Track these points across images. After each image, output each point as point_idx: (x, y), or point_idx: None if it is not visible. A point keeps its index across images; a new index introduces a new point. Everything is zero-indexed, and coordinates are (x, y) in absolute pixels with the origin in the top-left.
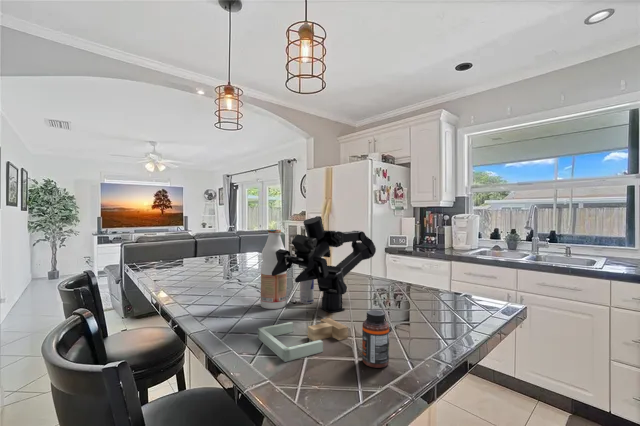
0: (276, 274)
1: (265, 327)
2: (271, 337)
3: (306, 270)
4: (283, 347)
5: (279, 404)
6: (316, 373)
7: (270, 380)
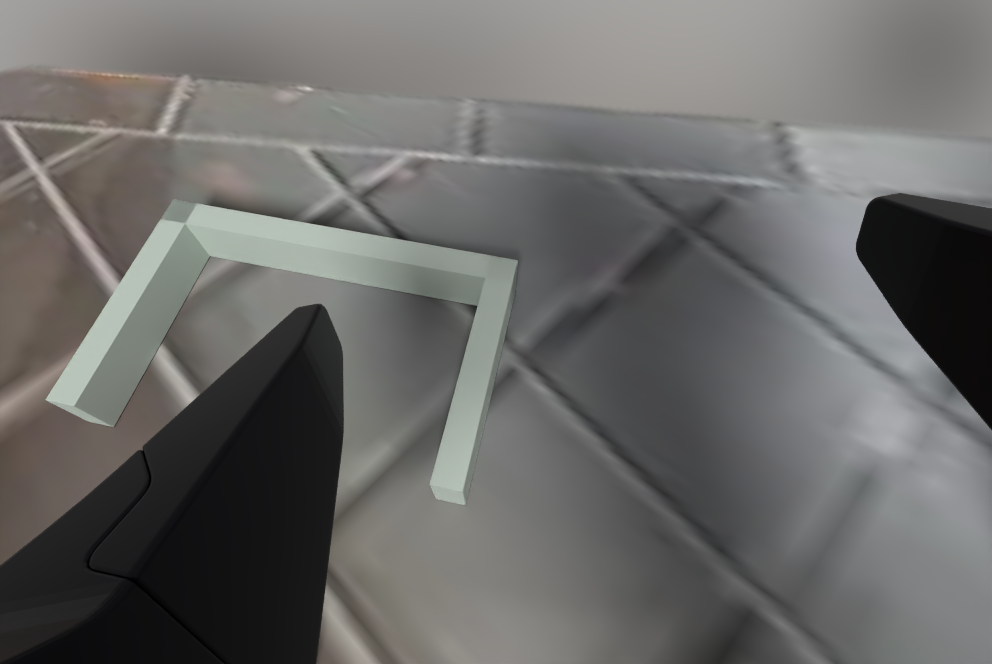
0: (904, 315)
1: (497, 296)
2: (345, 240)
3: (93, 507)
4: (204, 214)
5: (47, 94)
6: (19, 260)
7: (156, 136)
